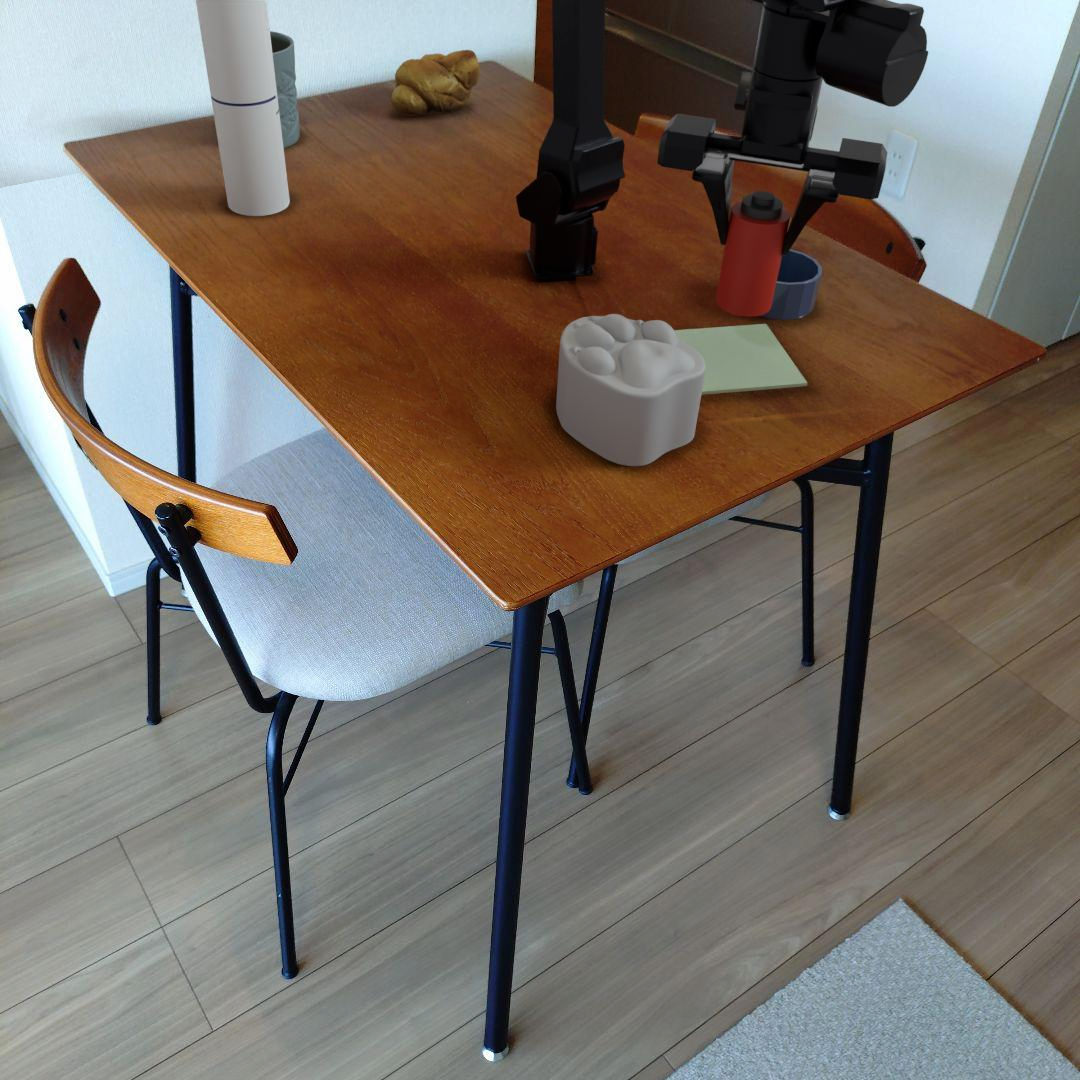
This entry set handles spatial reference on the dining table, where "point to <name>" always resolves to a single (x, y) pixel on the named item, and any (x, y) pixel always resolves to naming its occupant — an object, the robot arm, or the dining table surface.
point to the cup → (795, 287)
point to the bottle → (752, 254)
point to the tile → (742, 359)
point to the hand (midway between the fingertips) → (754, 248)
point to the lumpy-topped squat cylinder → (628, 387)
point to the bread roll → (435, 83)
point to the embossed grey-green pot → (286, 86)
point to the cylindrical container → (245, 104)
